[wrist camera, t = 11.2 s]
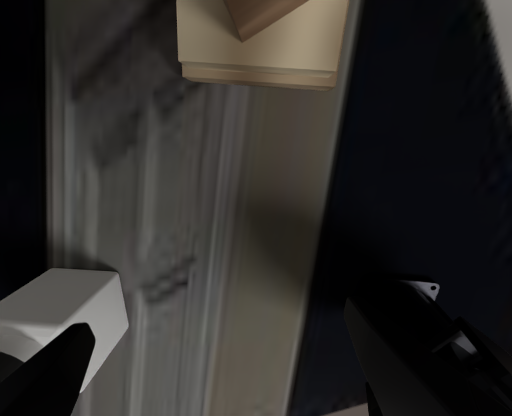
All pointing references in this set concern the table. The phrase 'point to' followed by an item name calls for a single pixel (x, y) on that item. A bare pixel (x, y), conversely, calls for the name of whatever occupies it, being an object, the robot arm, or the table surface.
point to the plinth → (262, 46)
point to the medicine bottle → (61, 315)
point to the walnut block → (258, 14)
